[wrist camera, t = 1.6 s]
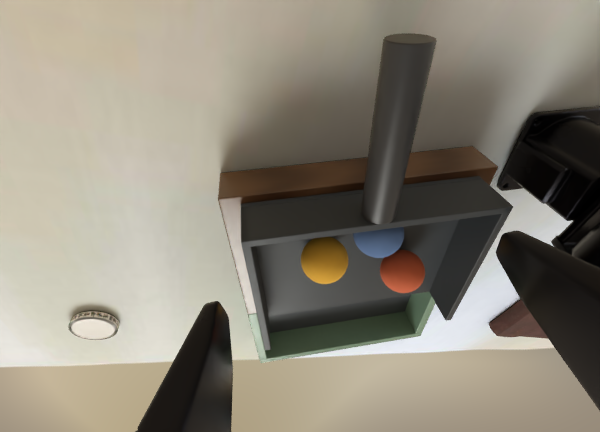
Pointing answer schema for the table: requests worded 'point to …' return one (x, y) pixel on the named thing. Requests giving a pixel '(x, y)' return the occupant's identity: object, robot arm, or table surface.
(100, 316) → the white bottle cap
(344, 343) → the bin
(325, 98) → the table surface
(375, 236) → the slate-blue ball
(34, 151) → the table surface
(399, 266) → the terracotta ball
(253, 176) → the stand
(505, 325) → the notebook
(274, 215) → the pan
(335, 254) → the mustard ball
